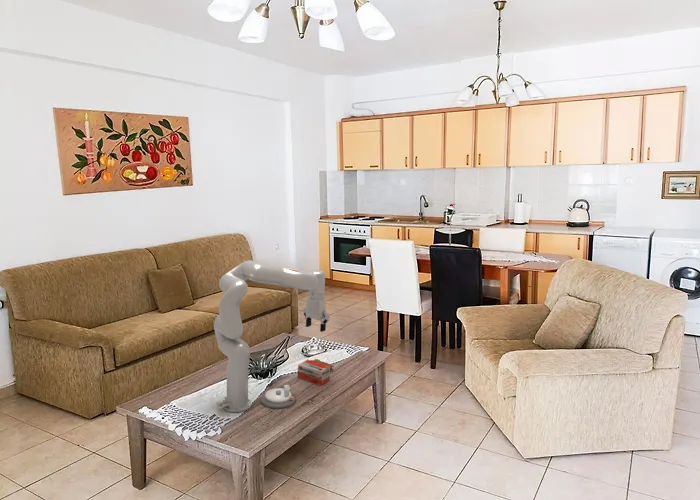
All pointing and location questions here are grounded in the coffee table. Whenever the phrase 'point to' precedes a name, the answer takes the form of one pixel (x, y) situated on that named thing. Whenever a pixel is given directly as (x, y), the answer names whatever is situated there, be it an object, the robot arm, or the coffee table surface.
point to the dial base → (278, 405)
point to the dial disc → (279, 395)
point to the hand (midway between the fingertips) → (315, 328)
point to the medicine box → (314, 372)
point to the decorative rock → (323, 363)
